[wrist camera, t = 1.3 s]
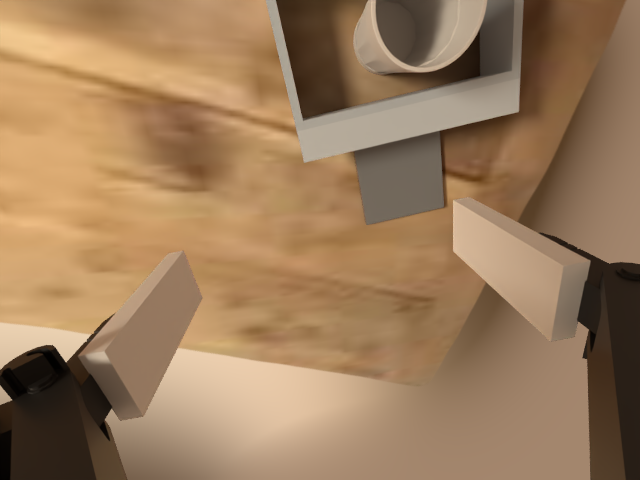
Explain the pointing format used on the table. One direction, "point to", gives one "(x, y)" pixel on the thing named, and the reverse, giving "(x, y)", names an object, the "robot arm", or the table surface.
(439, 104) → the rectangular frame
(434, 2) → the cup
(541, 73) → the table surface
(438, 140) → the pad
